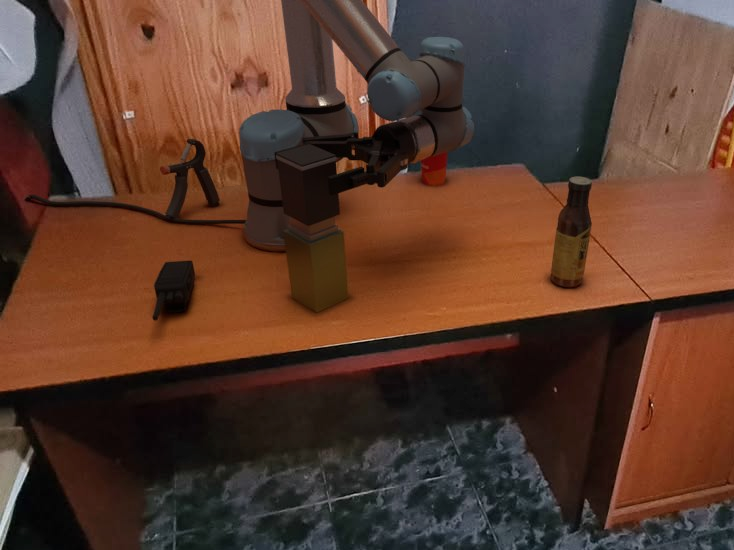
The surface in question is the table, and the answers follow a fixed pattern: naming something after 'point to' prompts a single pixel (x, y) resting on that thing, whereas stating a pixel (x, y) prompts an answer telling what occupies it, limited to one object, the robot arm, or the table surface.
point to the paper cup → (434, 169)
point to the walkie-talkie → (174, 286)
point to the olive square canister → (316, 263)
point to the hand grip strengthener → (181, 179)
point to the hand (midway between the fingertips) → (302, 173)
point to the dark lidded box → (307, 184)
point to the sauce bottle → (572, 235)
